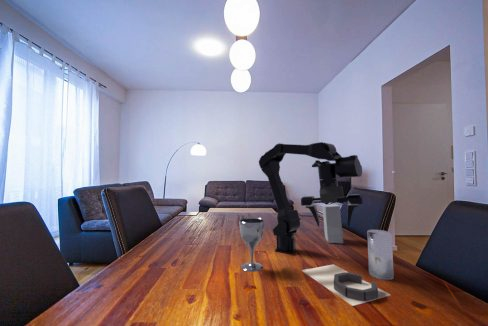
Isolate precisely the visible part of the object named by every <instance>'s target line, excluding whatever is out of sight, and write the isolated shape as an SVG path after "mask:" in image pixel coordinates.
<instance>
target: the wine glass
mask: <svg viewBox="0 0 488 326" xmlns="http://www.w3.org/2000/svg"><path fill="white" fill-rule="evenodd" d="M264 222H265V219H264V218H261V217H244V218H241V219H239V232H240V236H241V237H240V238H241V239H242V240H243V242H244V243H245V244H246V245H247V246H248V248H249V253H250V262H245V263H242V265H240V268H241V270H243V271H245V272H251V273H255V272H256V273H257V272H259V271H262V270H263V269H264V265H263V264H262V263H259V262H255V261H254V253H255V248H256V247H257V245H258V244H259V242H260V241H261V240H262V239H263V235H264V227H265V223H264Z"/></svg>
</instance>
